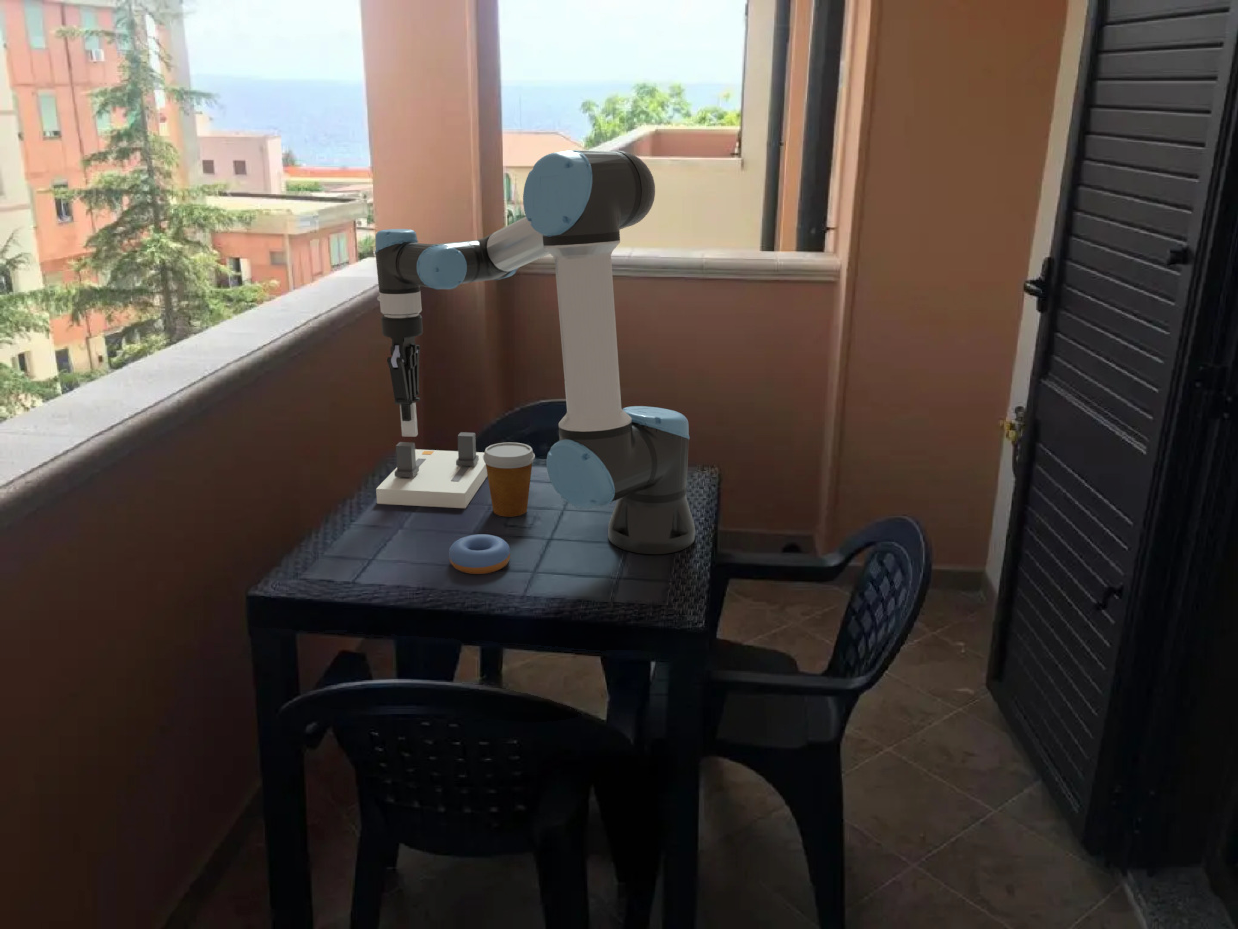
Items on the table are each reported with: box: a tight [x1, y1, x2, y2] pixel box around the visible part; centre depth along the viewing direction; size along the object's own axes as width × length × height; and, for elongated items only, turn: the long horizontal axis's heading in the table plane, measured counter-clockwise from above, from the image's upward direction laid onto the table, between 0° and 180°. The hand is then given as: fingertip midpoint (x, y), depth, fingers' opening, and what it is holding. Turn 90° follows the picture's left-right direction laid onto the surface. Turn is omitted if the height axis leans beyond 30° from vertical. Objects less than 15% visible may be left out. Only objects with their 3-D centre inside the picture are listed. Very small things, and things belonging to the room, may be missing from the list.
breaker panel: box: [375, 448, 488, 509], centre depth 194 cm, size 24×17×3 cm
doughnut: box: [448, 533, 511, 575], centre depth 159 cm, size 10×10×5 cm
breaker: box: [456, 431, 479, 466], centre depth 196 cm, size 4×4×6 cm
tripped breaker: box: [395, 441, 419, 477], centre depth 189 cm, size 4×4×6 cm
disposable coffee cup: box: [483, 441, 536, 518], centre depth 180 cm, size 10×10×12 cm
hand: (409, 435), depth 190 cm, fingers closed
